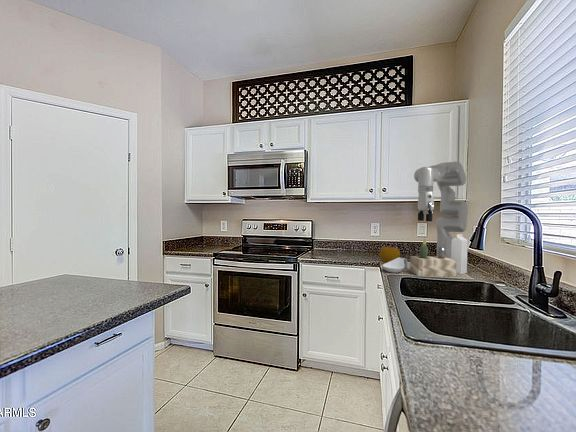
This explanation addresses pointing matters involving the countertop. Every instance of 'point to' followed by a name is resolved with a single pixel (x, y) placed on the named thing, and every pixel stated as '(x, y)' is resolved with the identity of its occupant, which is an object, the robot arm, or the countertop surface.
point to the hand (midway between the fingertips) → (424, 221)
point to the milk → (460, 253)
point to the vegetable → (423, 250)
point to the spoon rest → (396, 265)
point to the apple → (389, 254)
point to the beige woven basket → (433, 265)
